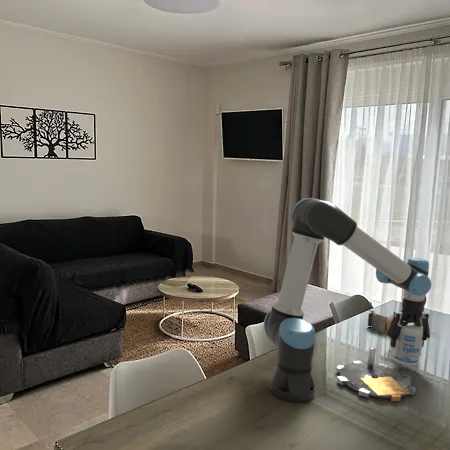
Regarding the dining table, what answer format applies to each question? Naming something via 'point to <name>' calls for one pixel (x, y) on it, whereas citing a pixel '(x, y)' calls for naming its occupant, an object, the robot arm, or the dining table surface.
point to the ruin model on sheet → (378, 322)
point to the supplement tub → (409, 345)
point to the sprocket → (375, 379)
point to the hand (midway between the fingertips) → (405, 354)
